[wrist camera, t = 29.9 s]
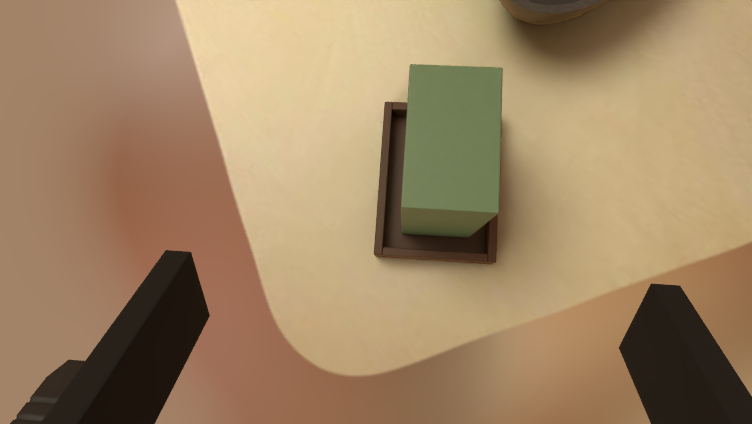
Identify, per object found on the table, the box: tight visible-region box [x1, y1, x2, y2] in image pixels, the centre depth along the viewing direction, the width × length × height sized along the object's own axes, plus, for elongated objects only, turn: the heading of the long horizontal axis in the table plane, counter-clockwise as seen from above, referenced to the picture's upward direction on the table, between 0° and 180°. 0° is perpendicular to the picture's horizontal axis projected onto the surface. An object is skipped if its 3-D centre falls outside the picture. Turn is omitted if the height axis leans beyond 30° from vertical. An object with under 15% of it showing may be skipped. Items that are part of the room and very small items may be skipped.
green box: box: [401, 64, 503, 238], centre depth 29 cm, size 5×8×11 cm, turn 176°
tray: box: [374, 102, 497, 264], centre depth 34 cm, size 9×12×2 cm
